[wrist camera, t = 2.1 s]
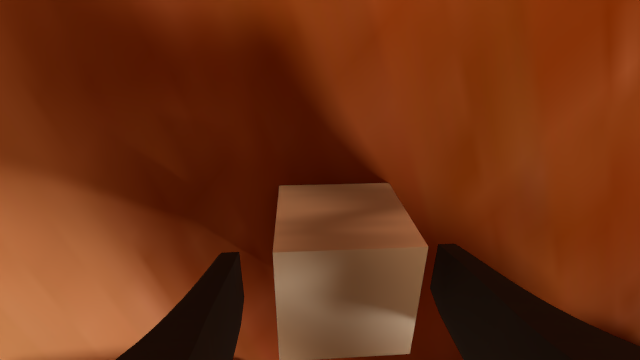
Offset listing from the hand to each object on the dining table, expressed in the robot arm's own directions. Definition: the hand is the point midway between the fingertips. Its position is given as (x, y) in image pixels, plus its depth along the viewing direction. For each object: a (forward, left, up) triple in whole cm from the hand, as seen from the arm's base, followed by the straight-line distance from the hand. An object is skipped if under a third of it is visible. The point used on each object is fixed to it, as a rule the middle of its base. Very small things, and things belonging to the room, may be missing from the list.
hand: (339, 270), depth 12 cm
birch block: (0, 0, -3) cm, 3 cm away
